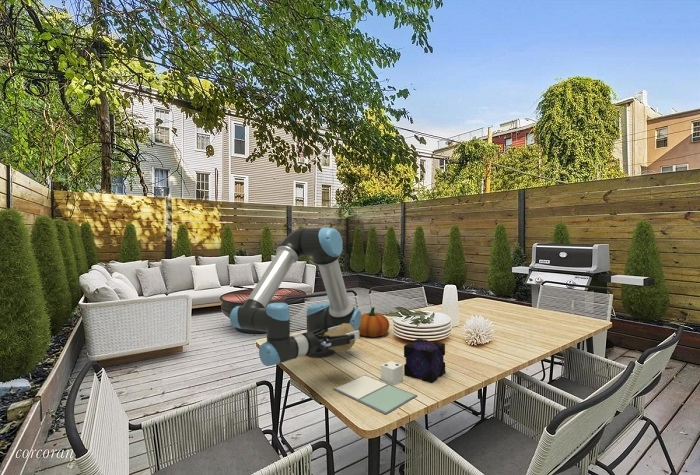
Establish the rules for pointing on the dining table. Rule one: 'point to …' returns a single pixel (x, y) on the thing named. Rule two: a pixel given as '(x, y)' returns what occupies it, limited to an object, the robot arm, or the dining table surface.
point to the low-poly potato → (342, 330)
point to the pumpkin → (373, 324)
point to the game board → (375, 394)
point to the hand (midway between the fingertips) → (349, 331)
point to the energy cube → (424, 360)
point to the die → (391, 372)
